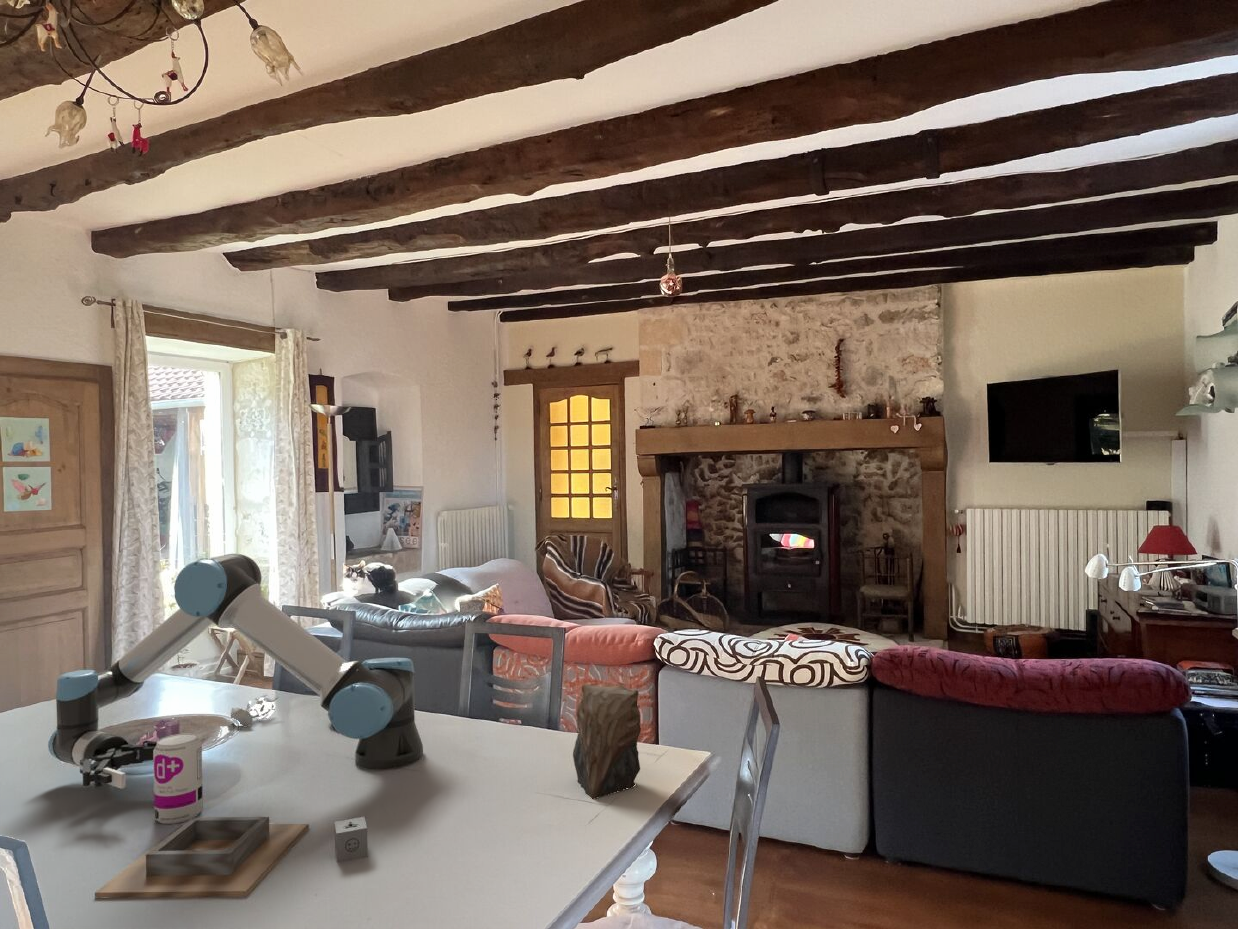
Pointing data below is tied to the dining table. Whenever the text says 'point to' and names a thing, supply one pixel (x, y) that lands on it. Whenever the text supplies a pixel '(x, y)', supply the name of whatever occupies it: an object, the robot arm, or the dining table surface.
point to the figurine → (254, 711)
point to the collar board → (207, 859)
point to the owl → (607, 739)
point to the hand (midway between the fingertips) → (159, 769)
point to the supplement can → (177, 778)
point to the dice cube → (351, 839)
